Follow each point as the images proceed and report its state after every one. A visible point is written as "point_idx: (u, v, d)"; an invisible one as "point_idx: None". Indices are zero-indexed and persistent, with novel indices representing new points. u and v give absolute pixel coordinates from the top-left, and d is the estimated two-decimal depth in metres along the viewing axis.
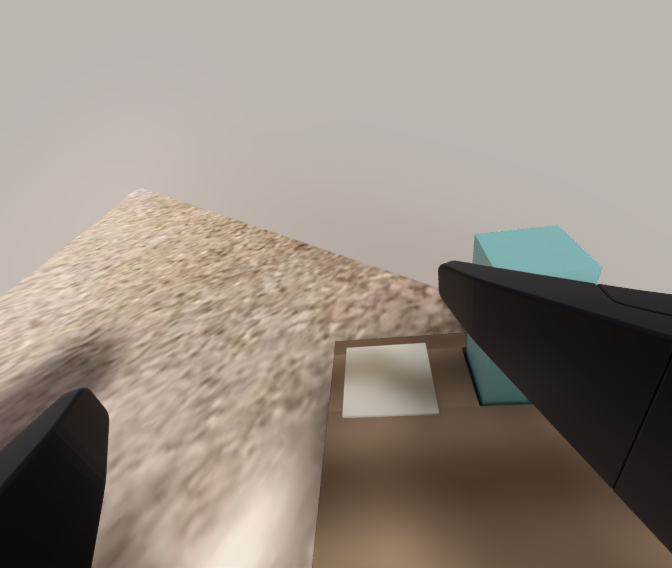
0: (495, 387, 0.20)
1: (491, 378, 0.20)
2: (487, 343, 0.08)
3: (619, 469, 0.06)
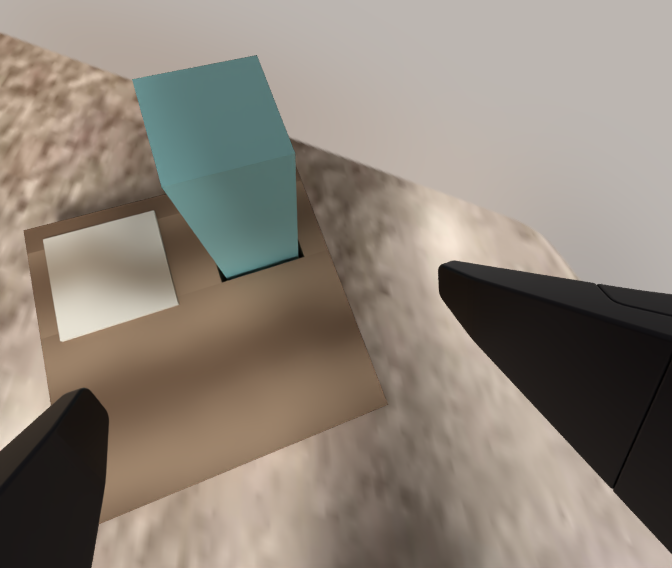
0: (230, 265, 0.19)
1: (222, 262, 0.18)
2: (487, 343, 0.08)
3: (620, 470, 0.06)
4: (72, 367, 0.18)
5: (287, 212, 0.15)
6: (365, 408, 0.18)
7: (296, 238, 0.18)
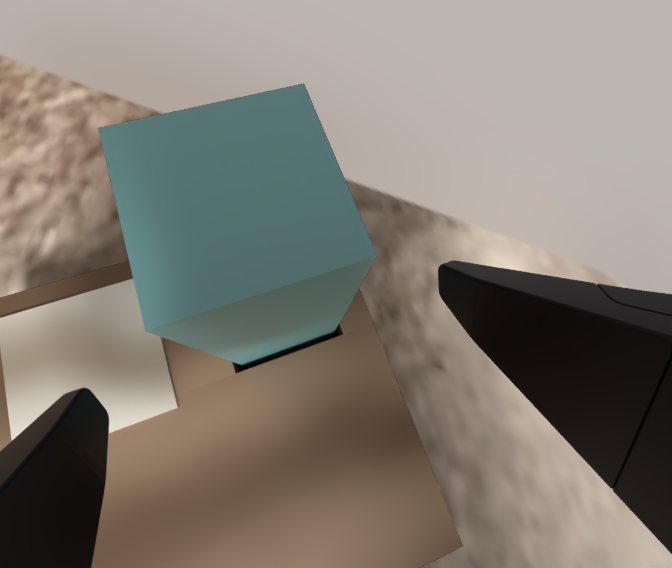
0: (248, 357, 0.14)
1: (238, 358, 0.13)
2: (487, 343, 0.08)
3: (620, 470, 0.06)
4: None
5: (337, 307, 0.10)
6: (433, 553, 0.14)
7: (338, 321, 0.13)
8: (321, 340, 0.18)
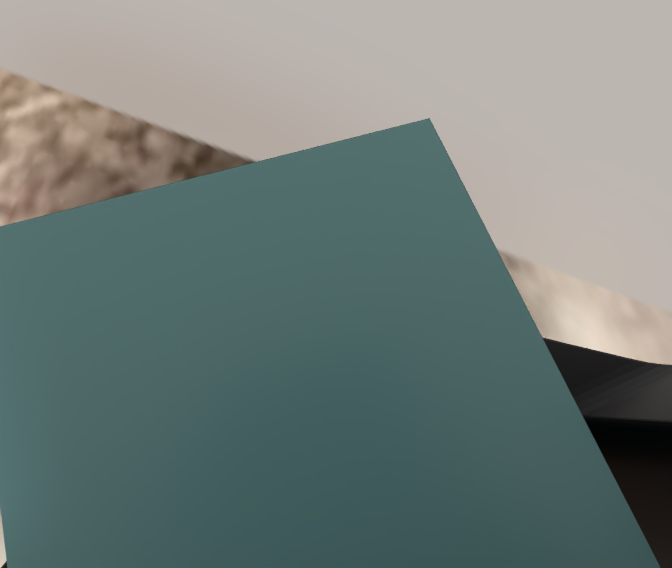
0: None
1: None
2: None
3: None
4: None
5: None
6: None
7: None
8: None
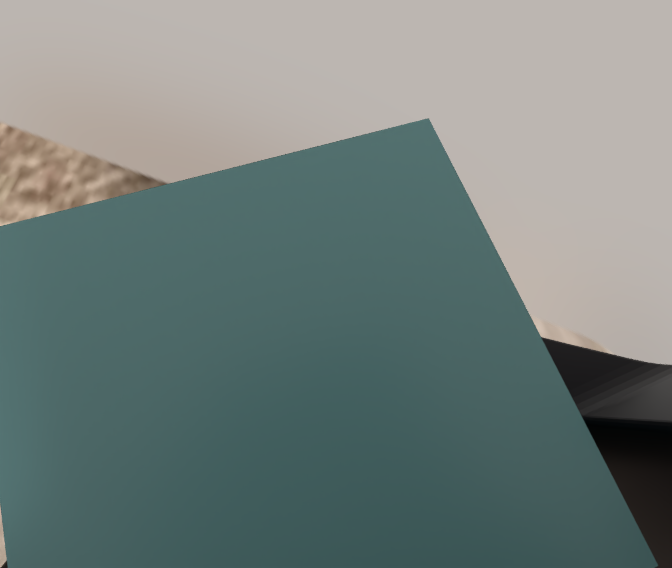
0: None
1: None
2: None
3: None
4: None
5: None
6: None
7: None
8: None
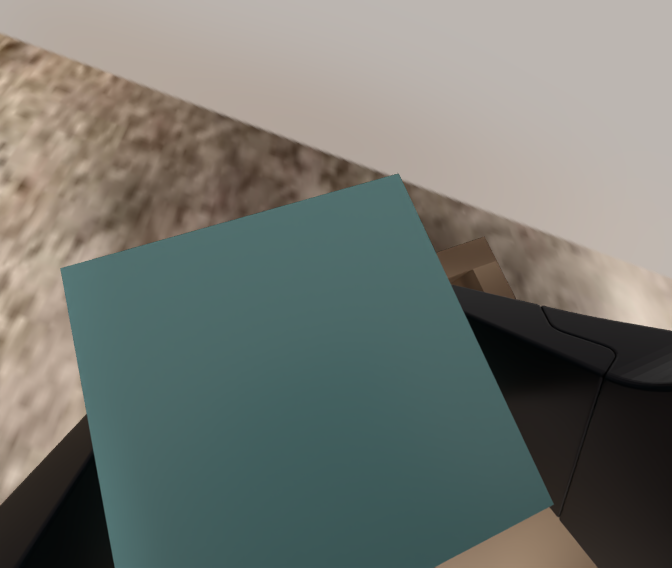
0: None
1: None
2: None
3: (563, 499, 0.06)
4: None
5: None
6: None
7: None
8: None
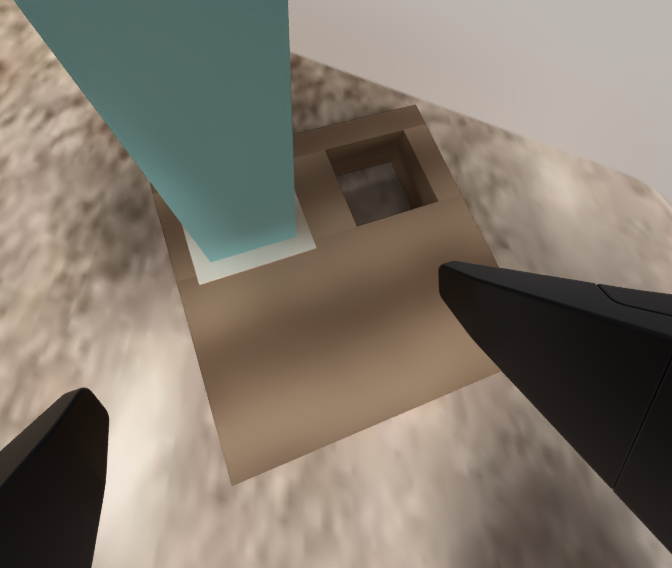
0: (197, 218, 0.13)
1: (182, 210, 0.12)
2: (487, 343, 0.08)
3: (619, 470, 0.06)
4: (213, 311, 0.16)
5: (276, 116, 0.09)
6: None
7: (292, 177, 0.13)
8: (285, 232, 0.17)
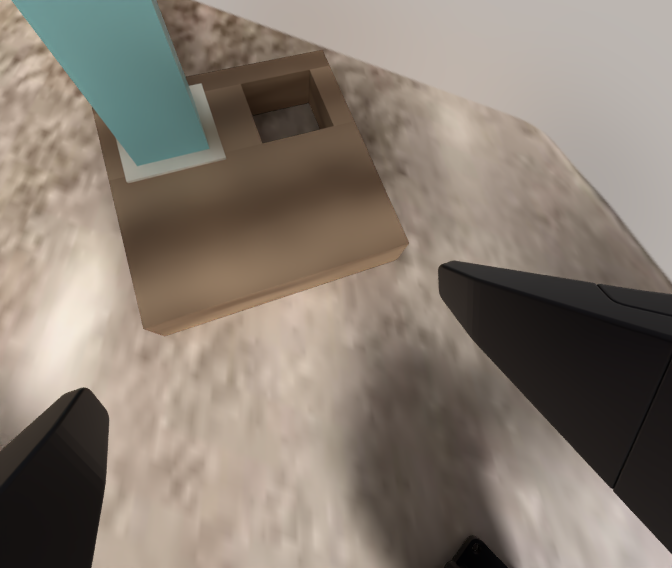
0: (108, 109, 0.17)
1: (93, 97, 0.16)
2: (487, 343, 0.08)
3: (619, 470, 0.06)
4: (137, 203, 0.20)
5: (142, 10, 0.13)
6: (389, 245, 0.21)
7: (179, 76, 0.17)
8: (196, 141, 0.21)
